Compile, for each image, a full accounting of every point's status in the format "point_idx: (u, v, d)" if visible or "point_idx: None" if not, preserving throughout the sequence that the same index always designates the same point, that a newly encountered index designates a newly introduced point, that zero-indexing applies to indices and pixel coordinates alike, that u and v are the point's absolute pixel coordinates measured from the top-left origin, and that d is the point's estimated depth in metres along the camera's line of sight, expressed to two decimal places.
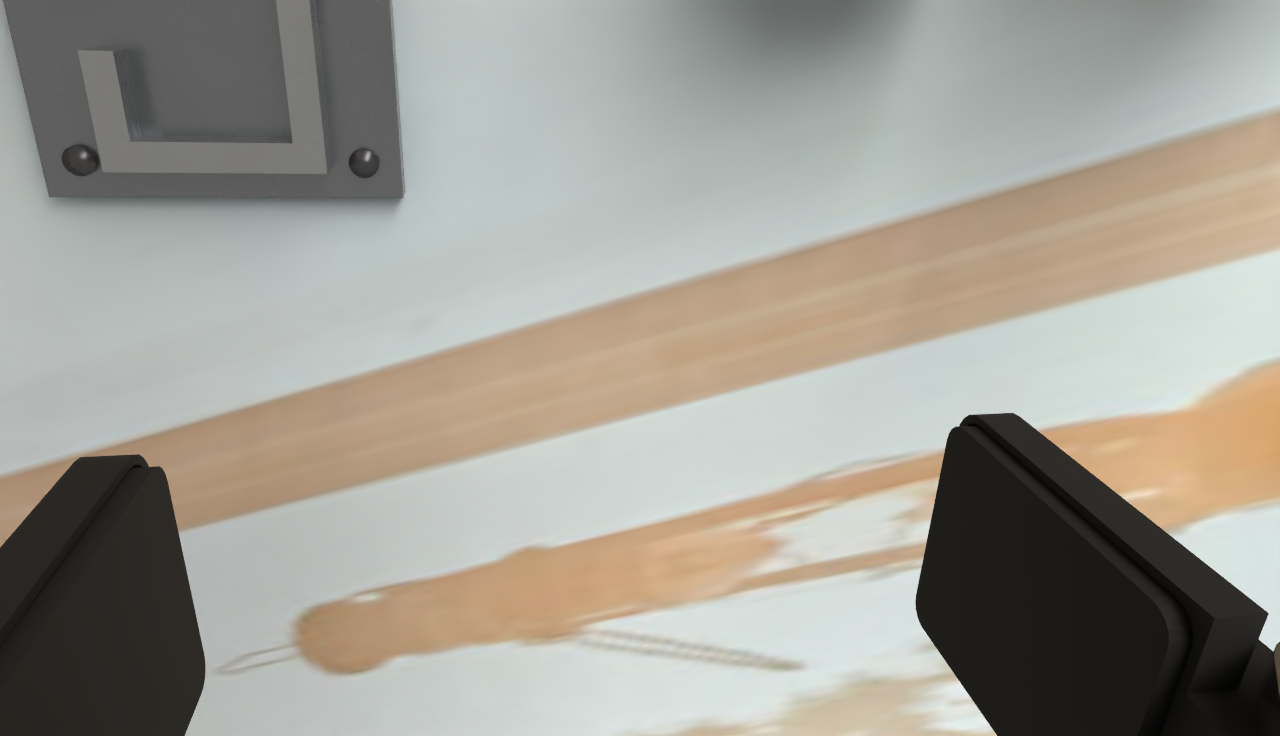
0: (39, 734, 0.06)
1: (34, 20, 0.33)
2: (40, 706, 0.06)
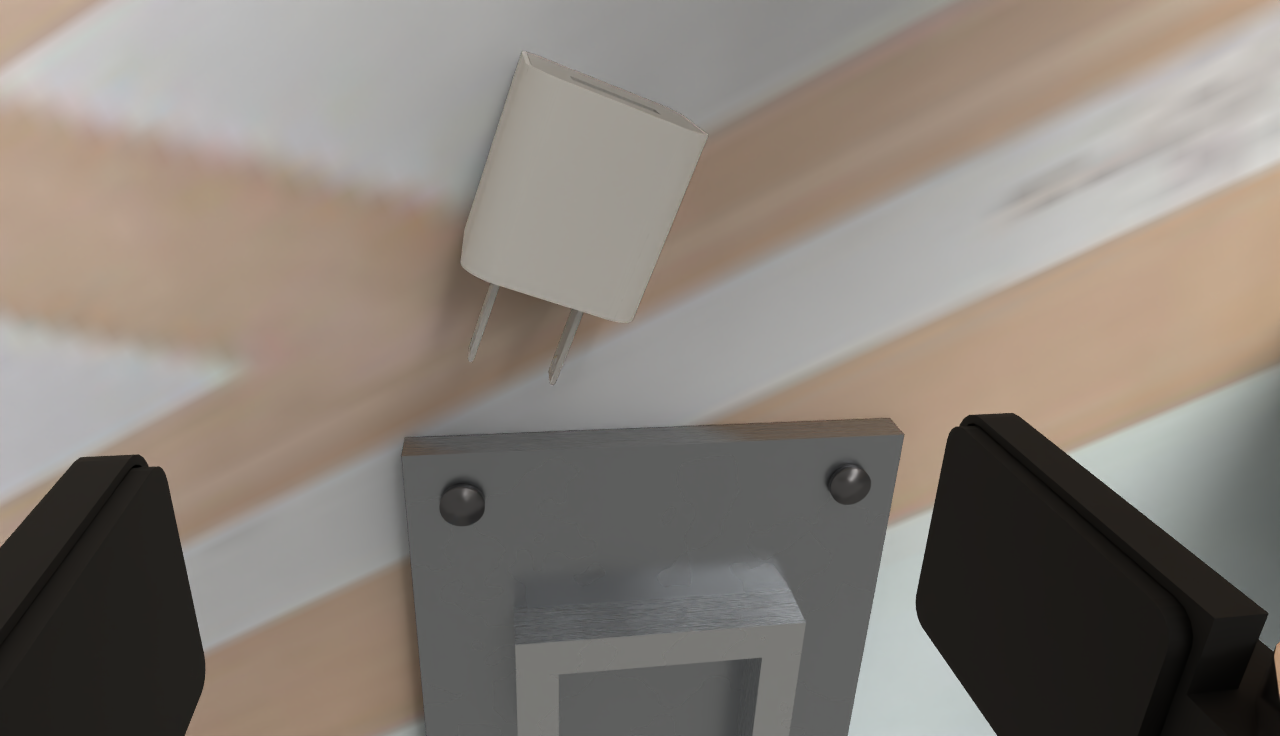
0: (39, 734, 0.06)
1: None
2: (40, 706, 0.06)
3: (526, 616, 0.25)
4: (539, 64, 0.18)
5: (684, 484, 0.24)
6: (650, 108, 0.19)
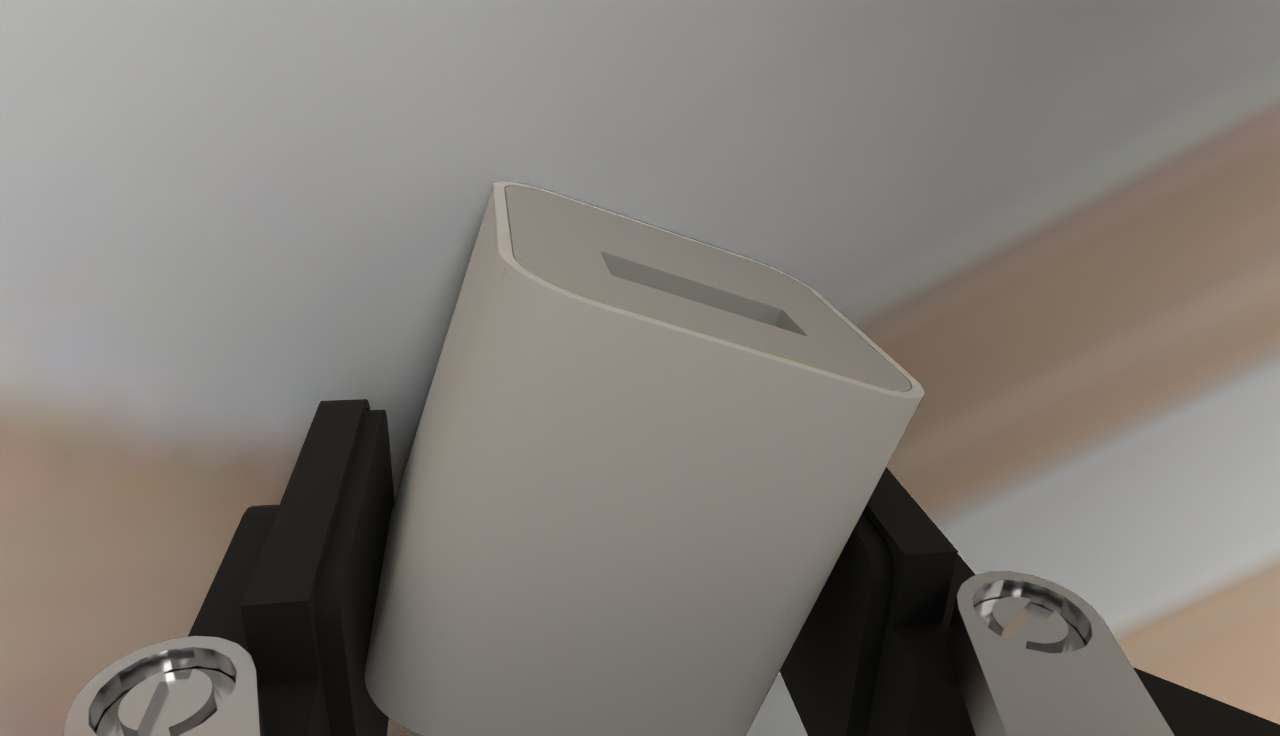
0: (358, 613, 0.08)
1: None
2: (357, 590, 0.08)
3: None
4: (532, 234, 0.08)
5: None
6: (773, 308, 0.09)
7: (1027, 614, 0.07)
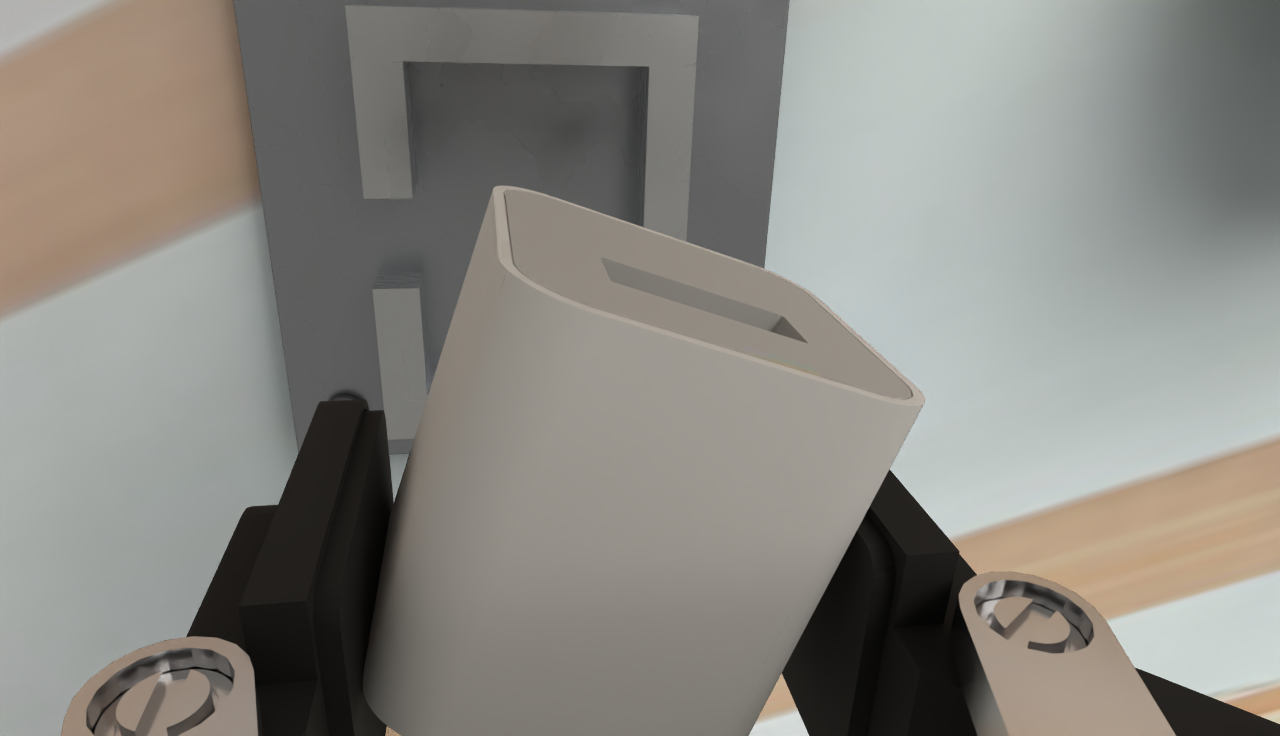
0: (356, 613, 0.08)
1: (303, 241, 0.23)
2: (355, 591, 0.08)
3: (366, 4, 0.21)
4: (532, 240, 0.08)
5: None
6: (773, 314, 0.09)
7: (1029, 614, 0.07)
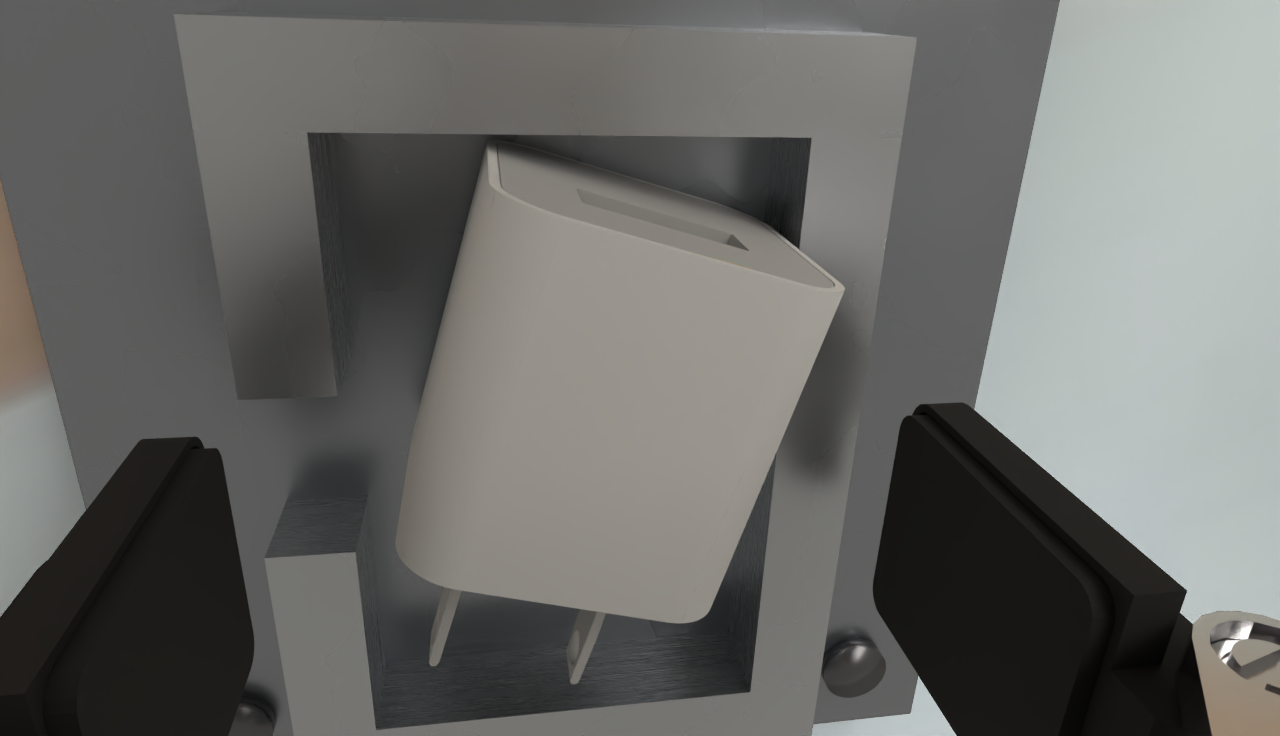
0: (124, 693, 0.07)
1: None
2: (124, 667, 0.07)
3: (236, 12, 0.10)
4: (518, 174, 0.09)
5: None
6: (724, 233, 0.10)
7: (1275, 661, 0.07)
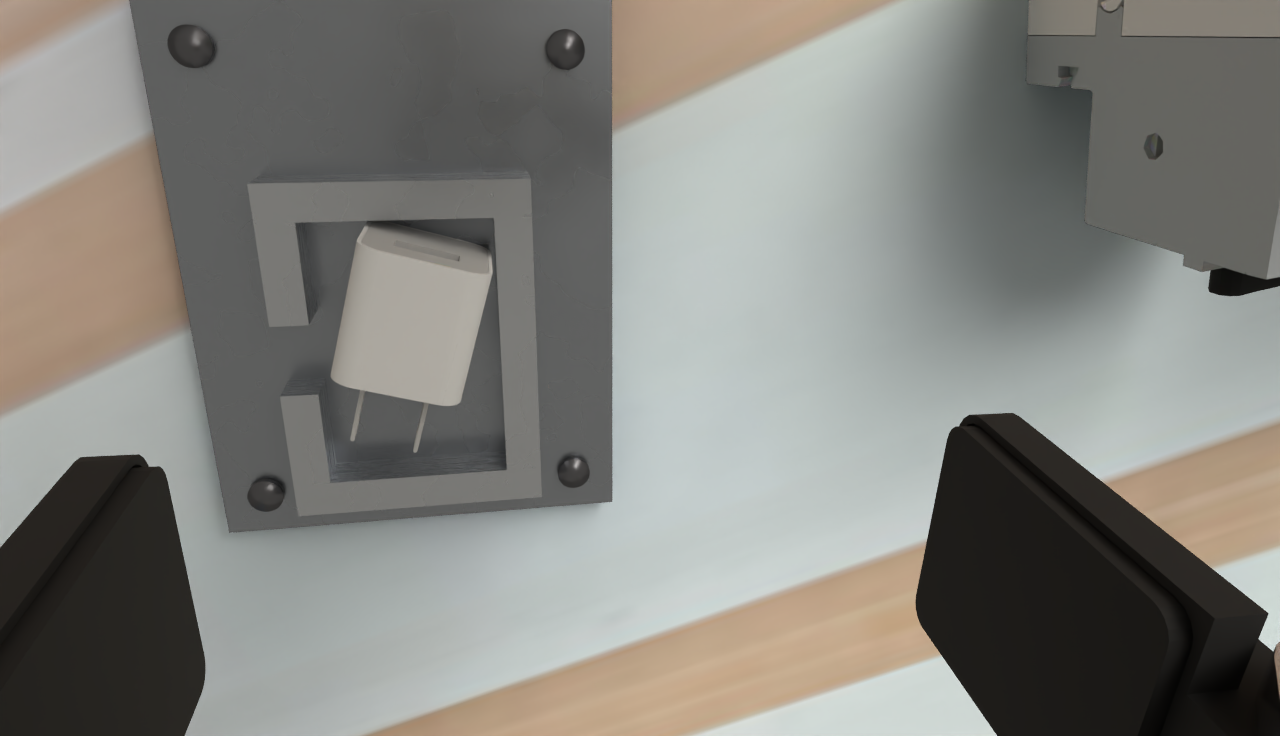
0: (39, 734, 0.06)
1: (226, 357, 0.29)
2: (40, 706, 0.06)
3: (267, 177, 0.27)
4: (372, 235, 0.26)
5: (406, 41, 0.26)
6: (456, 255, 0.27)
7: None
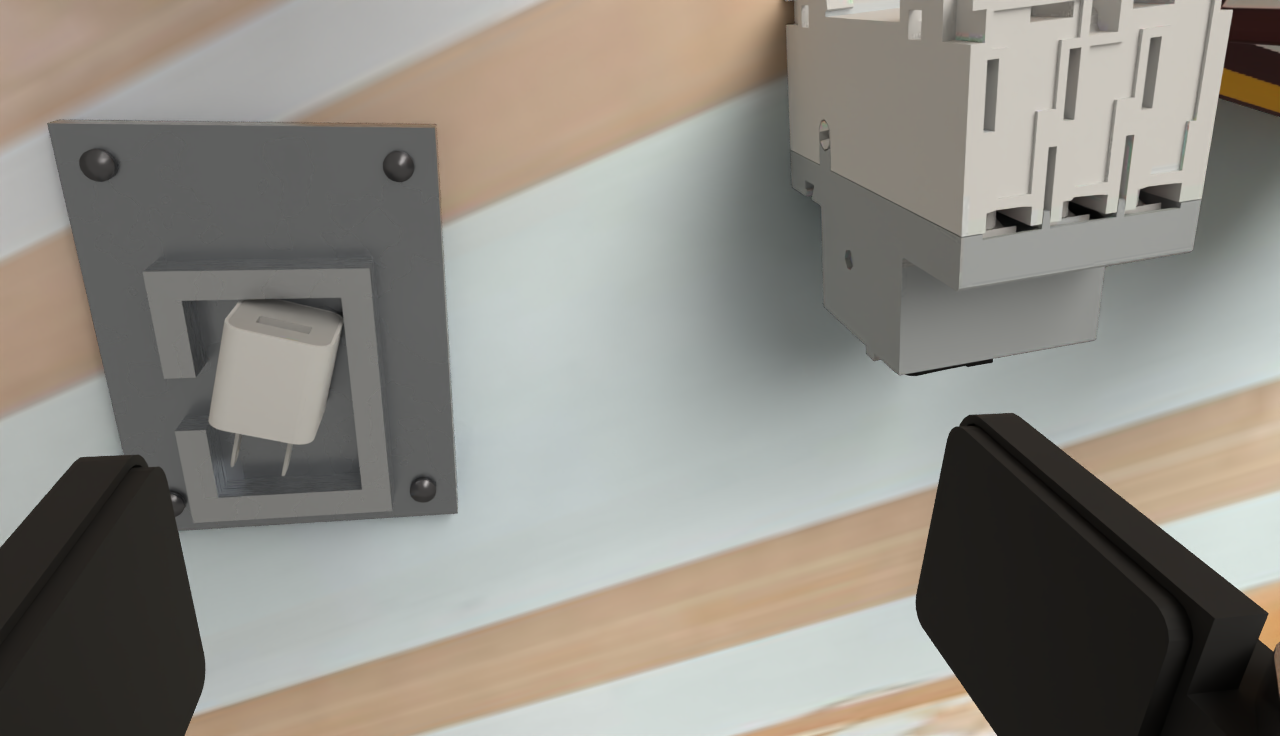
0: (39, 735, 0.06)
1: (134, 398, 0.36)
2: (40, 707, 0.06)
3: (162, 263, 0.34)
4: (240, 313, 0.33)
5: (270, 160, 0.34)
6: (309, 327, 0.34)
7: None
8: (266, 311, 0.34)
